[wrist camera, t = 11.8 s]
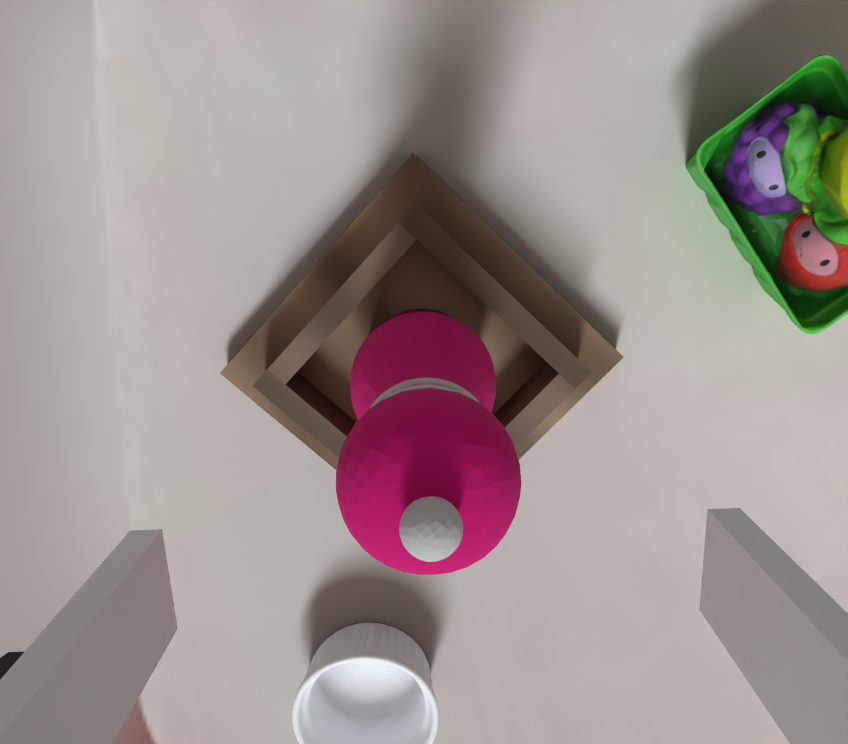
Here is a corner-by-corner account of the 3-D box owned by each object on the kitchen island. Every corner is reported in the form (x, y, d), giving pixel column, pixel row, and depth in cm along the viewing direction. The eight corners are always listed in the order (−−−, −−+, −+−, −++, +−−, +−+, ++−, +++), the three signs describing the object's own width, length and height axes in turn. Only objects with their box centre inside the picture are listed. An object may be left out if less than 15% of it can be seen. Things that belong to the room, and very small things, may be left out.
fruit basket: (650, 160, 36) (754, 140, 25) (793, 52, 34) (968, -19, 23) (756, 324, 38) (894, 372, 27) (893, 228, 37) (1096, 238, 26)
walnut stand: (413, 155, 35) (413, 148, 31) (615, 351, 38) (641, 370, 34) (227, 366, 38) (202, 387, 34) (428, 534, 41) (430, 574, 37)
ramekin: (284, 633, 43) (269, 680, 39) (413, 596, 42) (413, 640, 38) (329, 740, 45) (320, 795, 41) (453, 707, 44) (457, 759, 40)
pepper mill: (354, 420, 37) (292, 655, 18) (359, 294, 36) (296, 406, 16) (480, 428, 38) (551, 667, 18) (492, 303, 36) (584, 423, 17)
